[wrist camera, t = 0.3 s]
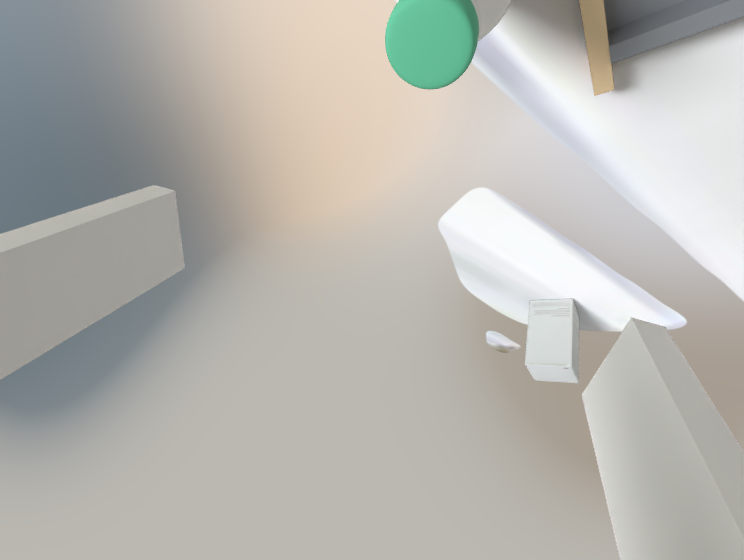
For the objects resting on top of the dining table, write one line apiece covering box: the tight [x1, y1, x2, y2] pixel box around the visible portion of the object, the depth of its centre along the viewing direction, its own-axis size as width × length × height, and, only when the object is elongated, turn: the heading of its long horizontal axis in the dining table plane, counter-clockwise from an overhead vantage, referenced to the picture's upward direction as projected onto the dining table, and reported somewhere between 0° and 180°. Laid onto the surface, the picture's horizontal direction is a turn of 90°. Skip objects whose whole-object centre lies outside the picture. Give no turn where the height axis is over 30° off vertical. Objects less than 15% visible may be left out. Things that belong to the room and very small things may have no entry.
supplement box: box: [525, 299, 579, 383], centre depth 66 cm, size 7×7×13 cm
